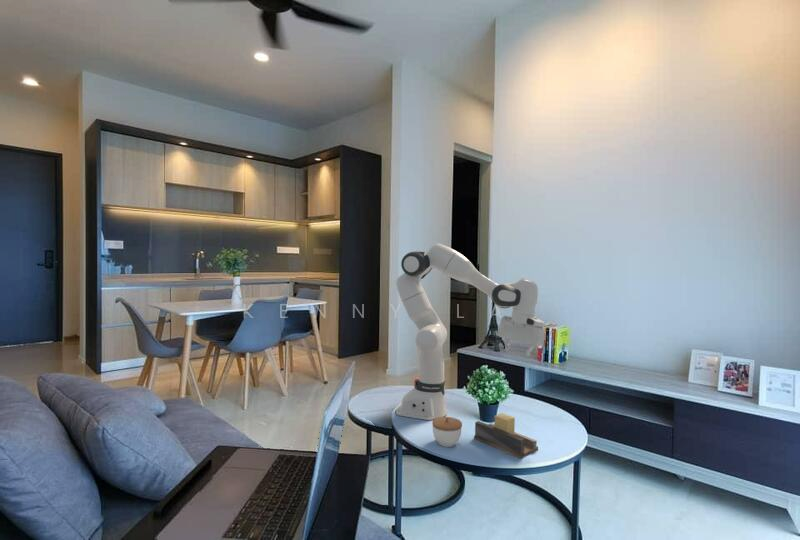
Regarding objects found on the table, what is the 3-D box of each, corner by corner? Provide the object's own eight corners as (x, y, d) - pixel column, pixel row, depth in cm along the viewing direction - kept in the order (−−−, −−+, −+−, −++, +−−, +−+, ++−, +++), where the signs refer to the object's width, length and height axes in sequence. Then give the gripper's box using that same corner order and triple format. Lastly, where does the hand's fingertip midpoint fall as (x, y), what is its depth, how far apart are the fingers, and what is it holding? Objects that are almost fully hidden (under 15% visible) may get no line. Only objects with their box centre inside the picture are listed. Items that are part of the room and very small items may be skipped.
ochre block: (501, 437, 151) (502, 413, 151) (514, 442, 147) (514, 417, 147) (494, 440, 149) (494, 415, 148) (506, 445, 144) (507, 420, 144)
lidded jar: (455, 452, 141) (455, 425, 141) (427, 445, 146) (427, 419, 146) (465, 440, 150) (466, 415, 150) (439, 434, 155) (439, 410, 155)
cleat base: (492, 431, 159) (492, 415, 159) (538, 449, 144) (538, 432, 144) (474, 438, 152) (474, 422, 152) (519, 458, 137) (520, 441, 137)
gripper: (497, 314, 171) (491, 346, 170) (540, 322, 155) (534, 358, 154) (506, 315, 175) (501, 347, 174) (549, 324, 159) (543, 359, 158)
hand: (517, 352), depth 164 cm, fingers open, 8 cm apart
